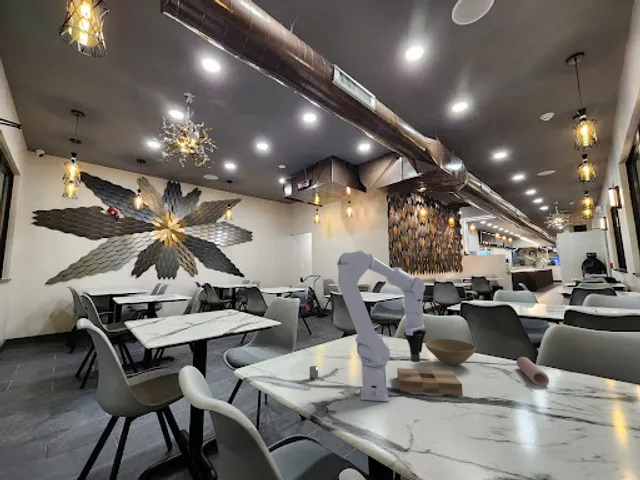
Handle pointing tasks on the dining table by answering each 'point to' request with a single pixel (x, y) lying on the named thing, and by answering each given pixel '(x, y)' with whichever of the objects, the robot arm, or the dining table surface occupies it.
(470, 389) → the dining table surface
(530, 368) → the coil
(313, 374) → the short pin
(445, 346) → the bowl
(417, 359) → the tall pin
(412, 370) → the hole plate
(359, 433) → the dining table surface
